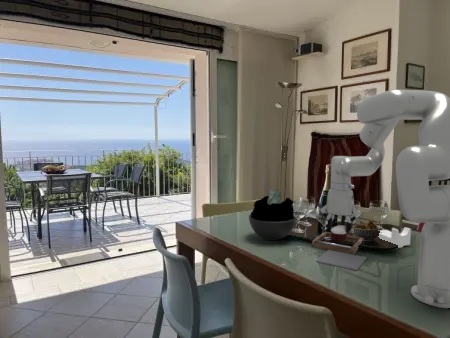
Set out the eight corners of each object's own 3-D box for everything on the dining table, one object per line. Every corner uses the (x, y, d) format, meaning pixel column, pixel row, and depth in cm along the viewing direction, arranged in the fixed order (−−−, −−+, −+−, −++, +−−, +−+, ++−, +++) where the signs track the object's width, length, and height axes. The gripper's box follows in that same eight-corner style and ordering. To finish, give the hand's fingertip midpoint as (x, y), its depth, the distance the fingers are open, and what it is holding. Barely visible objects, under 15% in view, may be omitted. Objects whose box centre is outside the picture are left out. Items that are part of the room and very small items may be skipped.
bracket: (409, 247, 140) (410, 228, 139) (395, 248, 138) (396, 230, 137) (386, 237, 152) (387, 221, 151) (372, 239, 150) (373, 222, 149)
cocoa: (336, 245, 135) (336, 215, 134) (325, 240, 141) (325, 211, 139) (354, 241, 139) (355, 212, 137) (343, 236, 145) (343, 208, 143)
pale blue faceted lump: (243, 216, 190) (250, 185, 191) (274, 222, 198) (280, 191, 198) (258, 223, 173) (265, 188, 174) (291, 229, 181) (298, 195, 181)
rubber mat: (356, 270, 114) (356, 269, 114) (315, 262, 122) (315, 260, 122) (366, 258, 126) (366, 257, 126) (328, 251, 134) (328, 249, 134)
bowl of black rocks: (239, 238, 150) (239, 195, 148) (270, 230, 163) (271, 190, 161) (273, 250, 135) (274, 202, 133) (304, 240, 147) (306, 196, 145)
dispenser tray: (353, 255, 130) (353, 247, 129) (311, 246, 138) (312, 239, 138) (363, 243, 143) (363, 237, 142) (324, 237, 152) (325, 230, 151)
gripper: (365, 187, 136) (363, 231, 138) (322, 184, 146) (321, 225, 147) (360, 189, 130) (359, 236, 132) (316, 186, 140) (315, 229, 141)
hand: (339, 230), depth 139 cm, fingers closed on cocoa, 6 cm apart
